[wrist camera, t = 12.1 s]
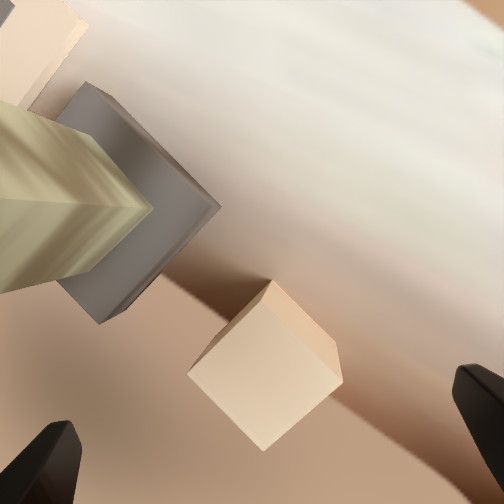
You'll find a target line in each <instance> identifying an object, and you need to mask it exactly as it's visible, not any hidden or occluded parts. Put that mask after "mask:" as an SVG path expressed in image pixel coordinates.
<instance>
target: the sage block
mask: <svg viewBox="0 0 504 504" xmlns="http://www.w3.org/2000/svg"><path fill="white" fill-rule="evenodd" d="M153 210H154V207H153V206H152V205H151V204H150V203H149V202H148V201H147V199H146V198H145V197H144V196H143V195H142V194H141V193H140V191H139V190H138V189H137V188H136V187H135V186H134V185H133V183H132V182H131V181H130V180H129V179H128V178H127V177H126V175H125V174H124V173H123V172H122V171H121V170H120V168H119V167H118V166H117V165H116V164H115V163H114V162H113V160H112V159H111V158H110V157H109V156H108V155H107V154H106V152H105V151H104V150H103V149H102V148H101V147H100V146H99V144H98V143H97V142H96V141H95V140H94V139H93V138H92V136H90V135H88V134H85V133H82V132H80V131H77V130H75V129H72V128H70V127H67V126H65V125H62V124H60V123H57V122H54V121H52V120H49V119H47V118H44V117H42V116H39V115H37V114H34V113H32V112H29V111H26V110H24V109H21V108H19V107H16V106H14V105H11V104H9V103H6V102H4V101H1V100H0V294H2V293H6V292H10V291H14V290H18V289H22V288H26V287H29V286H34V285H38V284H42V283H45V282H49V281H53V280H58V279H62V278H65V277H69V276H73V275H77V274H81V273H85V272H89V271H90V270H91V269H92V268H93V267H94V266H95V265H96V264H97V263H99V262H100V261H101V260H102V259H103V258H104V257H105V256H106V255H107V254H108V253H109V252H110V251H111V250H112V249H113V248H114V247H115V246H116V245H117V244H118V243H119V242H120V241H121V240H122V239H123V238H125V237H126V236H127V235H128V234H129V233H130V232H131V231H132V230H133V229H134V228H135V227H136V226H137V225H138V224H139V223H140V222H141V221H142V220H143V219H144V218H145V217H146V216H147V215H148V214H149V213H151V212H152V211H153Z"/></svg>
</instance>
